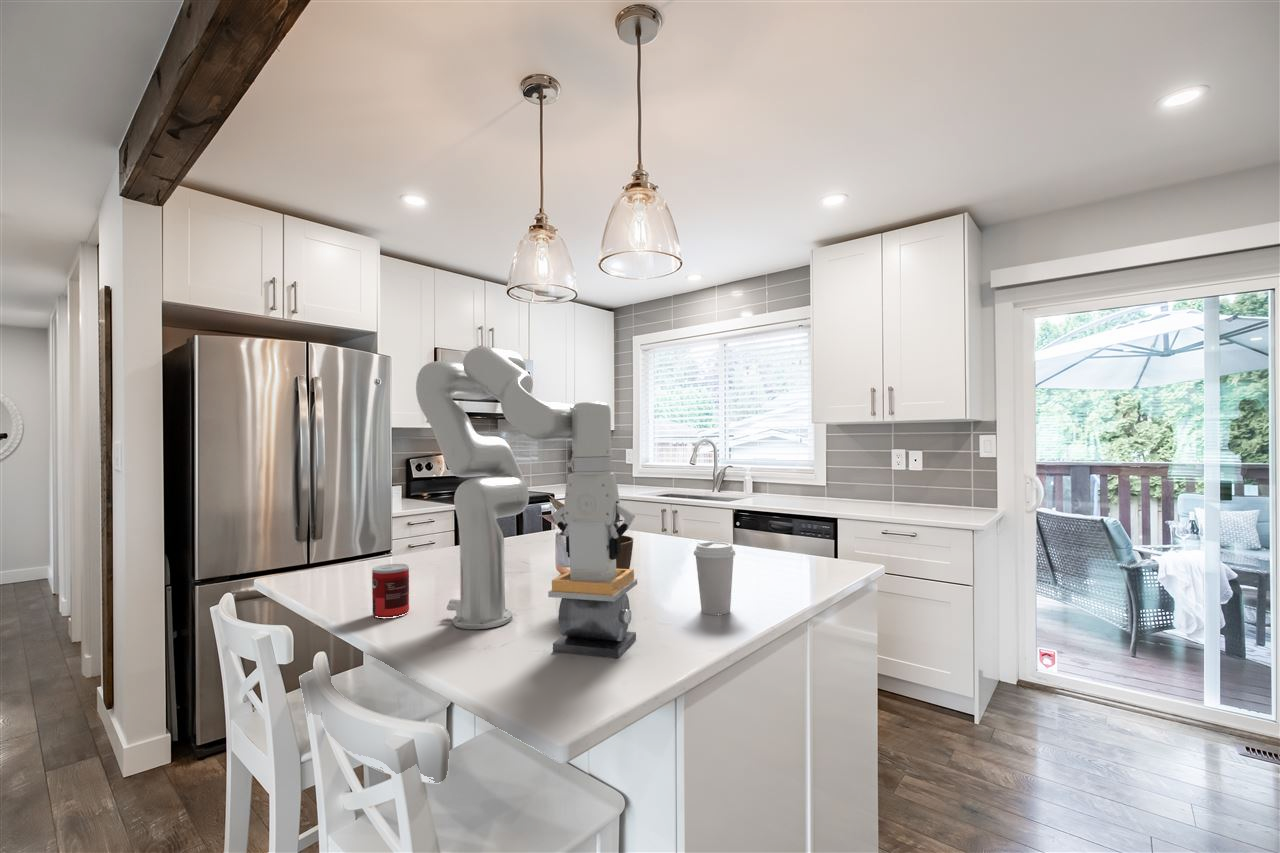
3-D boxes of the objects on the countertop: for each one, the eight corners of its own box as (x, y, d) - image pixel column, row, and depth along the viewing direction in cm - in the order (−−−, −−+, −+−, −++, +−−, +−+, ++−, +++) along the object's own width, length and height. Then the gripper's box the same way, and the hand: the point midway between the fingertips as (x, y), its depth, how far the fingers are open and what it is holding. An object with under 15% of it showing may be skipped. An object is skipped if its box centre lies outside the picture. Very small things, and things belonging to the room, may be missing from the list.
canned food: (384, 609, 138) (384, 563, 139) (415, 610, 137) (415, 563, 138) (365, 619, 131) (364, 570, 131) (398, 620, 130) (397, 570, 130)
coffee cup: (713, 602, 138) (711, 539, 139) (745, 610, 131) (743, 544, 132) (686, 611, 132) (684, 545, 132) (718, 620, 125) (716, 550, 125)
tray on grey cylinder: (549, 654, 106) (548, 580, 107) (578, 632, 119) (577, 565, 119) (618, 661, 102) (616, 584, 103) (640, 637, 115) (639, 569, 115)
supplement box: (607, 589, 107) (604, 520, 107) (569, 588, 108) (566, 521, 109) (618, 579, 114) (615, 515, 114) (582, 579, 115) (579, 516, 116)
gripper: (542, 467, 111) (543, 559, 110) (628, 467, 105) (629, 563, 105) (559, 465, 118) (560, 551, 117) (640, 465, 113) (642, 555, 112)
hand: (593, 556), depth 111 cm, fingers open, 8 cm apart
